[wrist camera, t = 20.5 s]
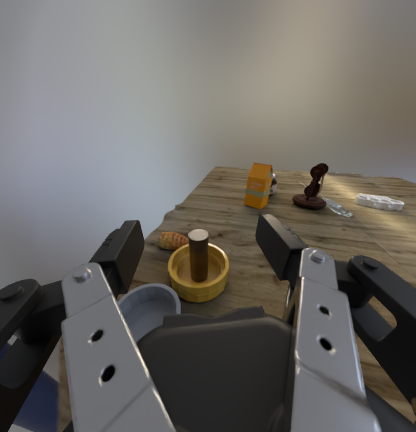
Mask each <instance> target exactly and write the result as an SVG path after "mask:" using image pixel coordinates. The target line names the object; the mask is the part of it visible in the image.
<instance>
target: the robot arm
mask: <svg viewBox="0 0 416 432" xmlns="http://www.w3.org/2000/svg"><path fill="white" fill-rule="evenodd" d="M256 241H257V243H258V245H259V247H260V248H261V250H262V252H263V253H264V255H265V257H266V258H267V260H268V262H269V263H270V265H271V267H272V268H273V270H274V272H275V273H276V275H277V277H278V278H279V280H280V281H282V280H288V281H289V282H290V283H289V286H288V291H287V296H286V302H285V307H284V313H283V317H282V319H280V318H277V317H275V316H272V315H269V314H265V312H264V310H263V308H262V306H252V307H243V308H237V309H235V310H232V311H230V312H228V313H225V314H223V315H220V316H218V317H210V316H204V315H198V314H192V313H185V314H175V315H166V316H164V319H163V325H160V326H158V327H156V328H154V329H152V330H151V331H149V332H148V333H147V334H145V335H144V336H143V337H142V338H140V339H139V340H138V341H137V342H136V343H135V341H134V338H133V336H132V334H131V332H130V330H129V327H128V325H127V323H126V321H125V319H124V316H123V314H122V312H121V310H120V308H119V305H118V303H117V301H116V300H117V297H118V295H119V294H127V293H128V290H129V287H130V284H131V282H132V279H133V276H134V274H135V271H136V268H137V266H138V263H139V260H140V257H141V255H142V252H143V249H144V238H143V233H142V229H141V225H140V222H139V221H138V220H130V221H125V222H124V223H123V225H122V226H121V228H120V229H116V230H114V231H113V232H112V233H110V234H109V236H108V237H107V238H106V239H105V241H104V242H103V244H102V246H100V248H99V249H98V250H97V252H96V253H95V254H94V256H93V257H92V258H91V260H90V261H89V262H88V263H86V264H82V265H80V266H78V267H76V268H74V269H72V270H71V271H70V272H68V273H67V274H66V275H65V276H64V278H63V279H62V280H61V281H57V282H54V283H50V284H47V285H44V286H40V285H39V283H38V282H37V281H36V280H34V279H26V280H21V281H18V282H15V283H13V284H10V285H8V286H6V287H5V288H3V289H1V290H0V350H1V349H2V348H3V347H4V345H5V344H6V343H7V341H8V340H9V339H10V338H11V336H12V335H13V334H14V335H15V336H16V337H17V339H16V341H15V342H14V343H13V345H12V346H11V347H10V349H9V350H8V351H7V353H6V354H5V355H4V357H3V358H2V359H1V360H0V432H8V430H9V429H10V427H11V425H12V423H13V421H14V420H15V418H16V416H17V414H18V413H19V411H20V409H21V407H22V405H23V404H24V402H25V400H26V398H27V396H28V395H29V393H30V391H31V389H32V387H33V386H34V384H35V382H36V380H37V378H38V377H39V375H40V373H41V371H42V369H43V368H44V366H45V364H46V362H47V360H48V359H49V357H50V355H51V353H52V352H53V350H54V348H55V346H56V344H57V342H58V341H59V339H60V337H61V335H62V337H63V345H64V353H65V362H66V370H67V378H68V386H69V394H70V403H71V411H72V419H73V420H72V421H71V422H70V423H69V424H68V426H67V427H66V428H65V429H64V431H63V432H416V421H415V422H414V424H413V423H412V422H411V421H410V420H408V419H407V418H406V417H405V416H403V415H402V414H401V413H400V412H398V411H397V410H396V409H395V408H393V407H392V406H391V405H390V404H388V403H387V402H386V401H385V400H383V399H382V398H381V397H380V396H379V395H377V394H376V393H375V392H374V391H372V390H371V389H370V388H369V387H367V386H366V385H365V384H364V383H363V377H362V372H361V366H360V361H359V356H358V350H357V345H356V339H355V334H354V331H355V332H356V334H357V335H358V336H359V337H360V339H361V340H362V341H363V343H364V344H365V345H366V347H367V348H368V349H369V351H370V352H371V353H372V355H373V356H374V357H375V358H376V360H377V361H378V362H379V364H380V365H381V366H382V368H383V369H384V370H385V372H386V373H387V374H388V376H389V377H390V378H391V379H392V381H393V382H394V383H395V385H396V386H397V387H398V389H399V390H400V391H401V393H402V394H403V395H404V397H405V398H406V399H407V400H408V402H409V403H410V404H411V406H412V409H413V412H414V414H415V416H416V288H414V287H413V286H412V285H410V284H409V283H408V282H406V281H405V280H403V279H402V278H401V277H399V276H398V275H397V274H395V273H394V272H393V271H391V270H390V269H389V268H387V267H386V266H385V265H383V264H382V263H380V262H379V261H377V260H375V259H372V258H370V257H367V256H363V255H354V256H352V257H351V259H350V260H349V262H343V261H337V260H333V258H332V257H331V256H330V255H329V254H327V253H326V252H324V251H322V250H319V249H316V248H309V247H308V246H307V245H306V244H305V243H304V242H303V241H302V240H301V239H300V238H299V237H298V236H297V235H295V233H294V232H293V231H291V229H290V228H289V227H288V226H287V225H286V224H284V223H282V222H280V221H278V220H277V219H276V218H275V217H274V216H273V215H272V214H269V215H260V216H259V219H258V224H257V229H256ZM373 296H375V297H376V298H377V299H378V300H379V301H380V302H381V303H382V304H383V305H384V306H385V307H386V308H387V309H388V310H389V311H390V312H391V313H392V314H393V315H394V317H395V319H396V321H397V326H396V328H395V329H393V328H392V327H391V326H390V325H389V324H388V323H387V322H386V321H385V320H384V319H383V317H382V316H381V315H380V314H379V313H378V312H377V311H376V310H375V309H374V308H373V307H372V306H371V305H370V304H369V303H368V302H369V300H370V299H371V298H372V297H373Z"/></svg>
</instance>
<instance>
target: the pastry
mask: <svg viewBox="0 0 416 432" xmlns="http://www.w3.org/2000/svg"><path fill="white" fill-rule="evenodd" d="M188 242H189V240H188V239H187V238H186V237H184V236H183V235H180V234H177V233H175V232H173V233H172V232H170V231H169V232H168V233H166V232H163V233H162V234H161V235H160V238H159V243H158V245H159V246H160V247H162V248H163V249H167V250H175V249H176V250H177V249H179V248H180V247H182V246H184V245H187V244H188Z"/></svg>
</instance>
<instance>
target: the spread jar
mask: <svg viewBox="0 0 416 432" xmlns="http://www.w3.org/2000/svg"><path fill="white" fill-rule="evenodd" d="M276 186H277V181H276V179H275V174H273V178H272V183H271V187H270V193H269V196H271V195H273V194H274V193H275V190H276Z"/></svg>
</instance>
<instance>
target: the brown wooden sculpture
mask: <svg viewBox="0 0 416 432" xmlns="http://www.w3.org/2000/svg"><path fill="white" fill-rule="evenodd" d="M327 171H328V166H327V165H326V164H324V163H321V164H318V165H317V166H315V167H313V168H312V169H311V171H310V174H311V176H312V178H313V181H311V184H310V185H309V186H307V187H306V188H305V190H304V193H305V194H298V195H295V196H293V201H294V204H296V203H297V204H299V205H302V206H305V207H310V208H315V210H317V209H318V208H323V207H325V206H326V202H325V201H324V200H323V199H322V198H320V197H317V195H318V194H319V193H320V191H321V189H322V184H323V179H324V176H325V174H326V173H327ZM321 177H322V180H321V185H320V184H319V183H318V182H319V181H320V179H321ZM317 193H318V194H317Z"/></svg>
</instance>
